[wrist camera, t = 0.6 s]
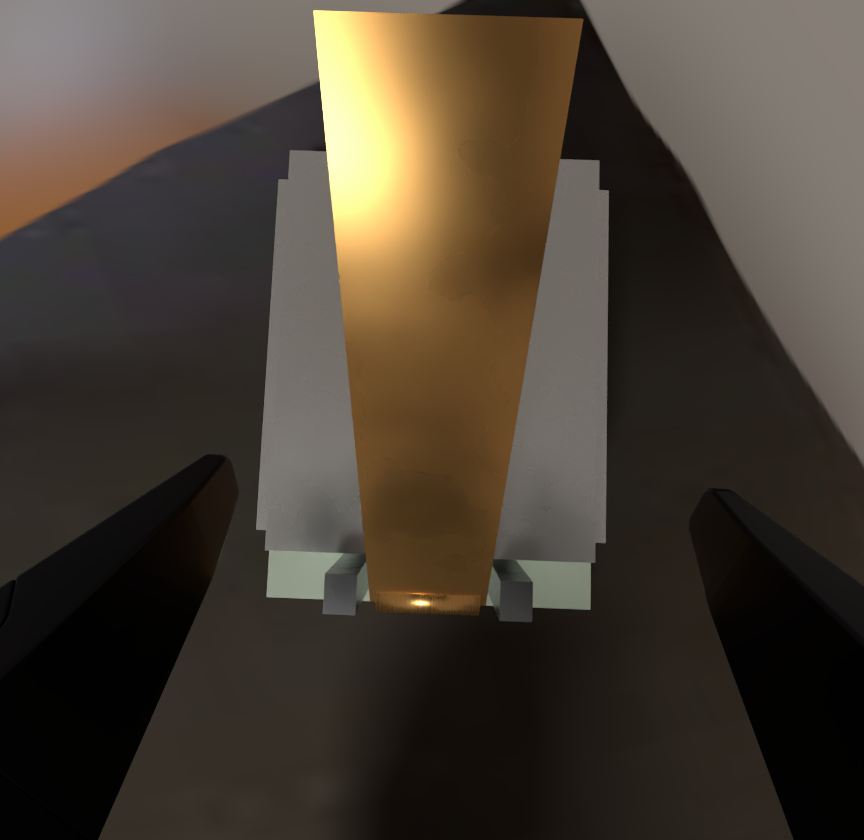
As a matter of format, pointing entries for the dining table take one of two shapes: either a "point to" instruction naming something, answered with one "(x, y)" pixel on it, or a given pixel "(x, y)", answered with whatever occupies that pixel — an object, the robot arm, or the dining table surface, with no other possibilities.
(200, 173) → the dining table surface
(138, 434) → the dining table surface
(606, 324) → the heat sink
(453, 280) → the strap
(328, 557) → the board
